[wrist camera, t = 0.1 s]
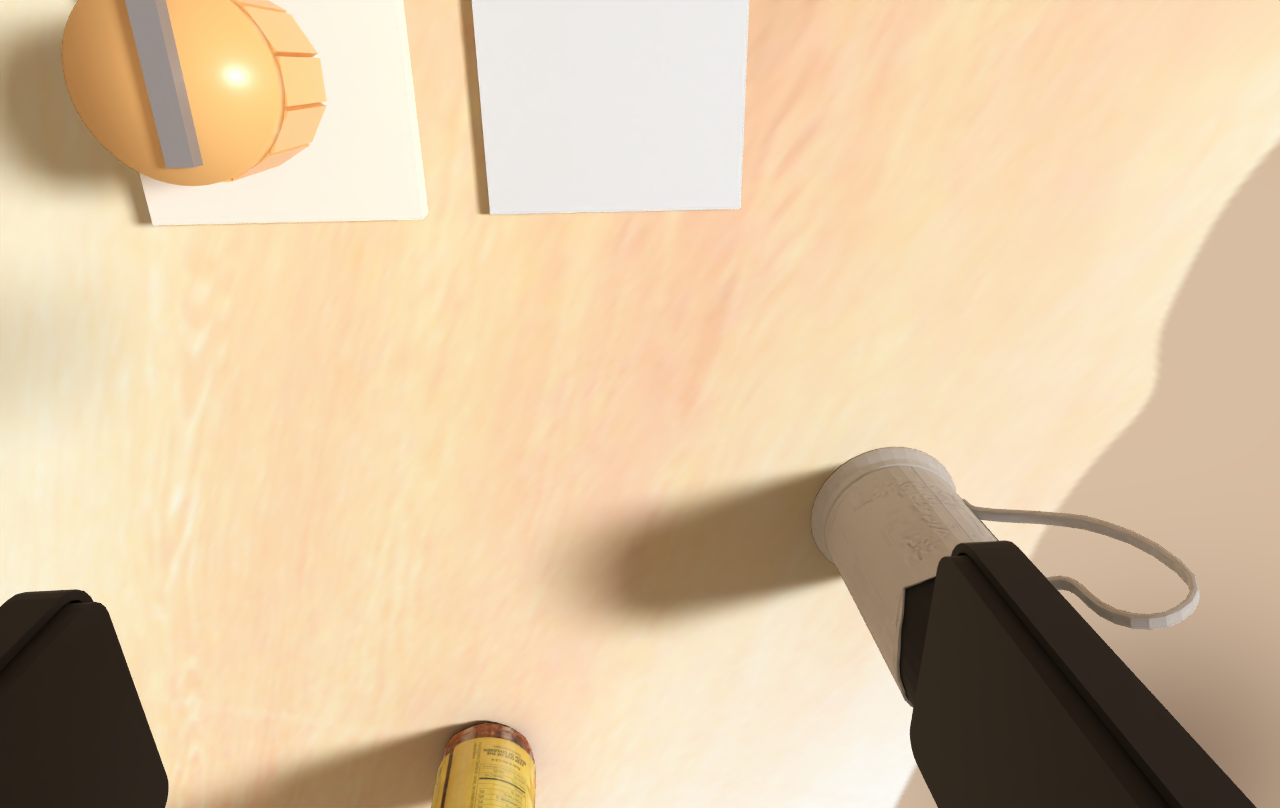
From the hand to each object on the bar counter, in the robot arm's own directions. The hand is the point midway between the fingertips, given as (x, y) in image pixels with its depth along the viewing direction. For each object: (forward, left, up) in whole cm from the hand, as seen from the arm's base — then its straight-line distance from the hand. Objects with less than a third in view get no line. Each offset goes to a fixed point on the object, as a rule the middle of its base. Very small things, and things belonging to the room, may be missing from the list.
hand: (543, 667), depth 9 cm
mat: (-6, +2, -31) cm, 32 cm away
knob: (-6, -13, -27) cm, 31 cm away
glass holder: (+17, +20, -31) cm, 41 cm away
